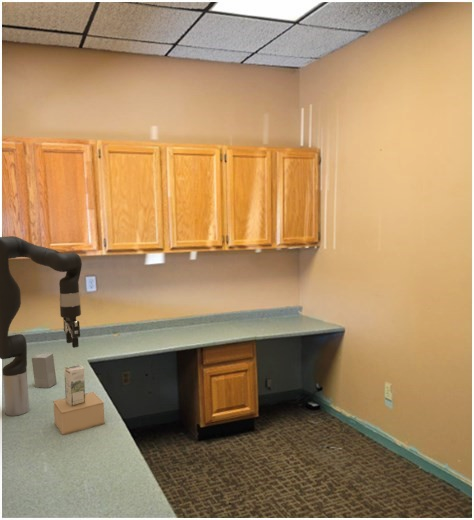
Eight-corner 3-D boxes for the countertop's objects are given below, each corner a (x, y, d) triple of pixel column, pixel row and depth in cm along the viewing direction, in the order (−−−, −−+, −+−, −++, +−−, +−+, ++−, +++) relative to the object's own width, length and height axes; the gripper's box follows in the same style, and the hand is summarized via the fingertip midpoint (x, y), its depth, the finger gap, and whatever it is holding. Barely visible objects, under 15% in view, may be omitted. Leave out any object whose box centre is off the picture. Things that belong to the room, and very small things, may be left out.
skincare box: (57, 384, 231) (55, 353, 230) (47, 389, 224) (45, 357, 223) (42, 383, 233) (40, 352, 232) (33, 387, 226) (31, 356, 225)
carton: (54, 423, 184) (53, 403, 184) (94, 413, 193) (93, 394, 193) (63, 435, 173) (61, 414, 173) (104, 423, 183) (103, 404, 182)
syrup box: (79, 398, 186) (77, 363, 184) (85, 402, 182) (84, 367, 180) (65, 402, 182) (63, 366, 181) (71, 407, 178) (70, 370, 176)
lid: (53, 402, 184) (53, 401, 183) (93, 393, 193) (93, 391, 192) (61, 414, 173) (61, 412, 173) (103, 403, 182) (103, 402, 182)
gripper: (55, 303, 183) (58, 343, 184) (65, 307, 171) (67, 350, 172) (74, 300, 187) (77, 340, 188) (85, 305, 175) (87, 347, 177)
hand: (72, 345), depth 180 cm, fingers open, 8 cm apart
